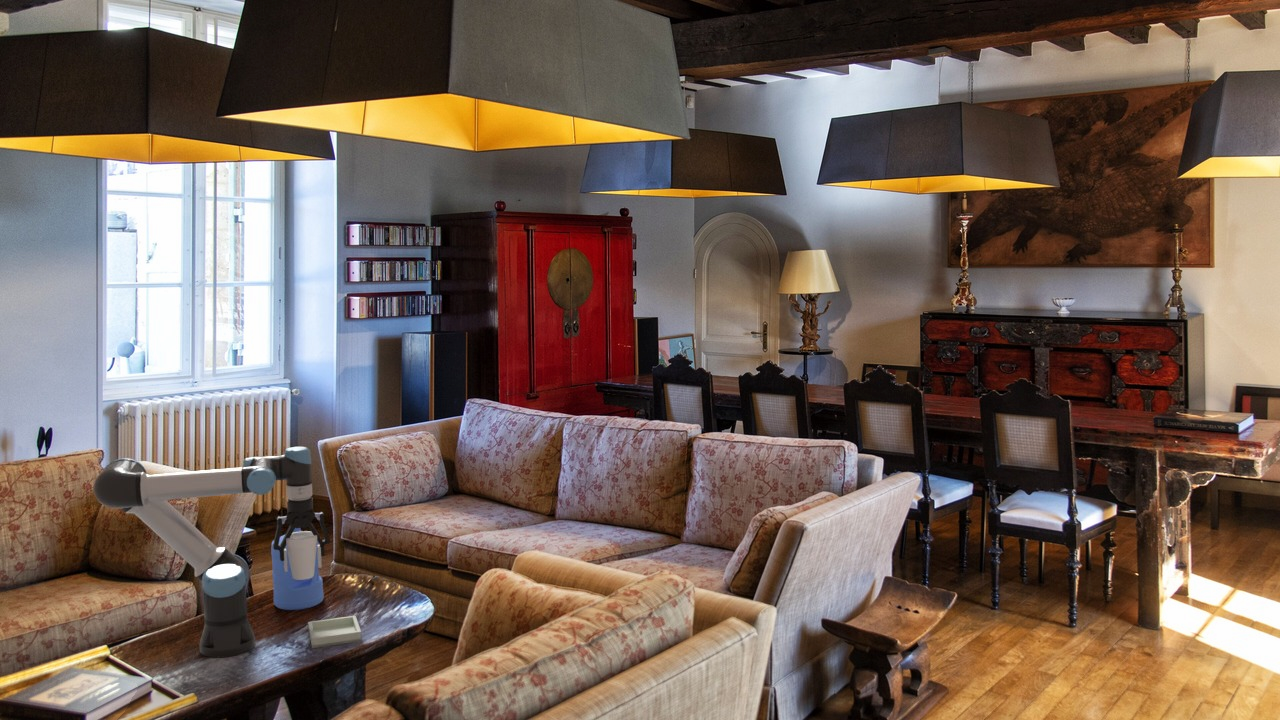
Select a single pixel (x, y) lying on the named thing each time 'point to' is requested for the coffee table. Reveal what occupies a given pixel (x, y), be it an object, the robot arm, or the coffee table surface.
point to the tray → (334, 631)
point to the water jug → (294, 584)
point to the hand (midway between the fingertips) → (302, 568)
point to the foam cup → (302, 554)
